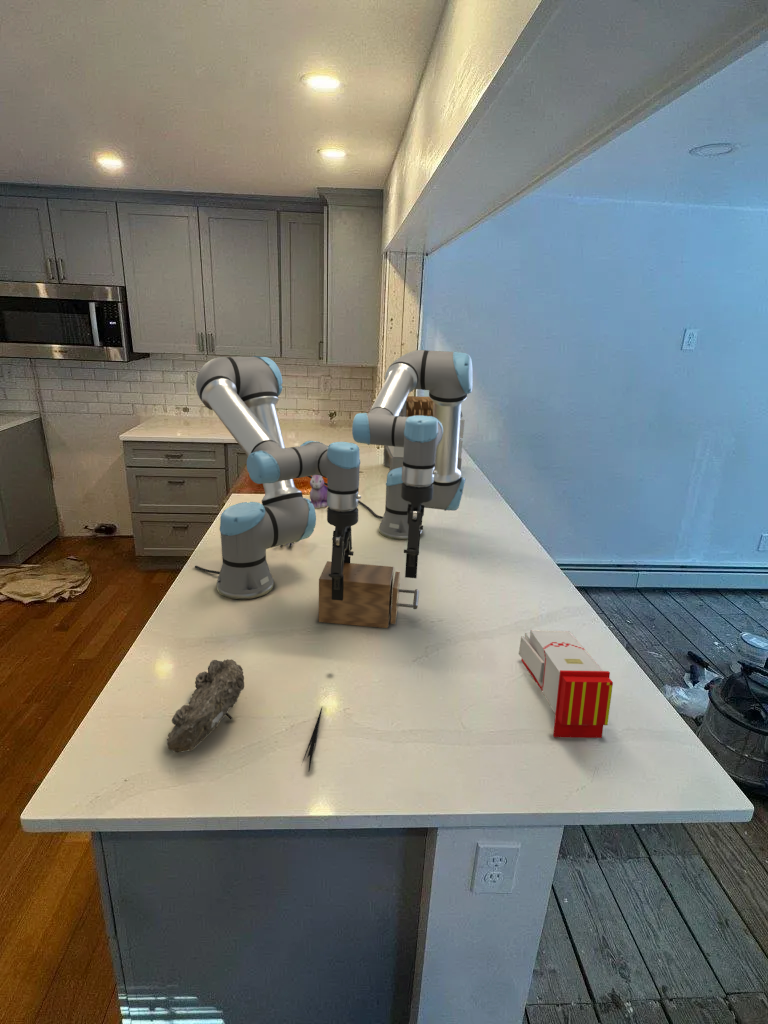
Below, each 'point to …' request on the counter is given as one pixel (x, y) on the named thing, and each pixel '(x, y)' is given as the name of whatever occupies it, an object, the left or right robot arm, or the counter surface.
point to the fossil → (206, 705)
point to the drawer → (396, 597)
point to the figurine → (318, 492)
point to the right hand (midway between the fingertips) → (412, 565)
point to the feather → (313, 740)
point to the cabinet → (358, 596)
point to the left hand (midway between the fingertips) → (341, 588)
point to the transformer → (416, 408)
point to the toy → (568, 682)
